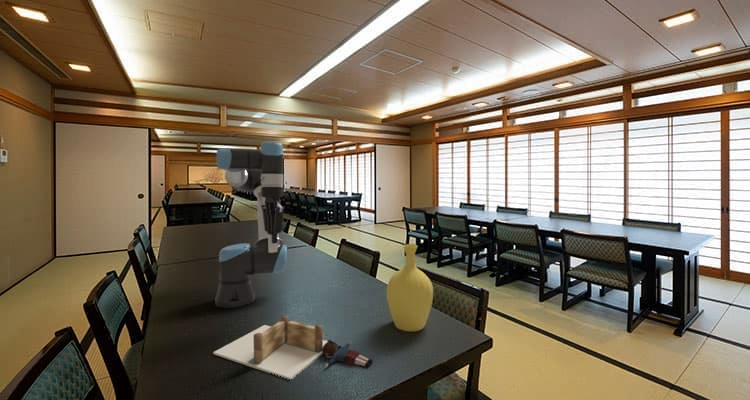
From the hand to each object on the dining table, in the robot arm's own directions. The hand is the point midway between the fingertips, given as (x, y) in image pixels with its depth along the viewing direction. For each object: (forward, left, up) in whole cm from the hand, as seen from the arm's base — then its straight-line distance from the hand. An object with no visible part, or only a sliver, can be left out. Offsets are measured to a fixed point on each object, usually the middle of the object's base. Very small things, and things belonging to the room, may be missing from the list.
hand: (272, 251), depth 117 cm
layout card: (+16, -17, -24) cm, 34 cm away
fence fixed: (+24, -13, -24) cm, 36 cm away
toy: (+38, -12, -25) cm, 47 cm away
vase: (+46, +17, -25) cm, 55 cm away
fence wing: (+17, -19, -23) cm, 34 cm away
